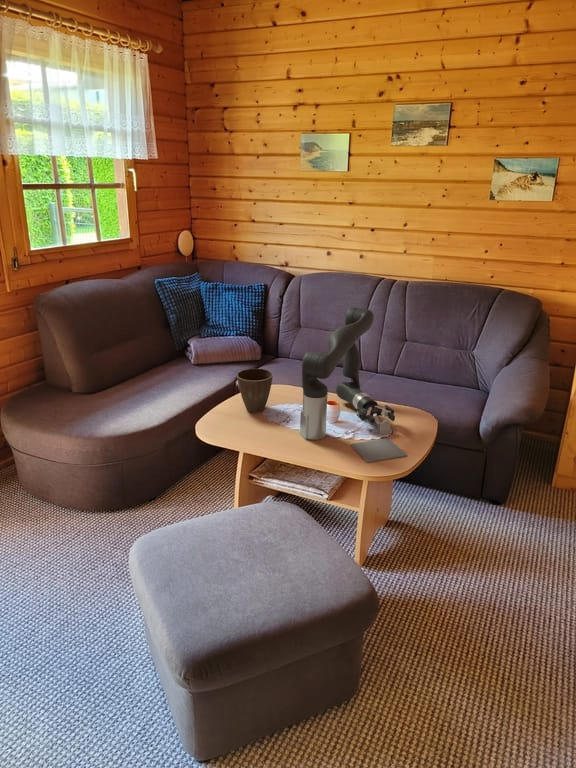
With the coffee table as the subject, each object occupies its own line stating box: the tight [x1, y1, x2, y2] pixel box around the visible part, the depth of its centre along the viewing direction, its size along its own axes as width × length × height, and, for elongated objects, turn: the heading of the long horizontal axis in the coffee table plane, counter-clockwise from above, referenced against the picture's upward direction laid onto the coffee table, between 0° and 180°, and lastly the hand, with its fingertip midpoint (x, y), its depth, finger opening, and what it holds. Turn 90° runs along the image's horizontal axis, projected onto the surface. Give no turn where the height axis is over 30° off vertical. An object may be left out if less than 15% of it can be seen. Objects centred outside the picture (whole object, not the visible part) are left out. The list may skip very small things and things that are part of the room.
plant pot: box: [236, 368, 274, 414], centre depth 234 cm, size 15×15×16 cm
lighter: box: [373, 414, 392, 435], centre depth 216 cm, size 7×2×8 cm, turn 86°
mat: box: [349, 437, 408, 464], centre depth 204 cm, size 16×14×1 cm
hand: (384, 420), depth 214 cm, fingers open, 8 cm apart
